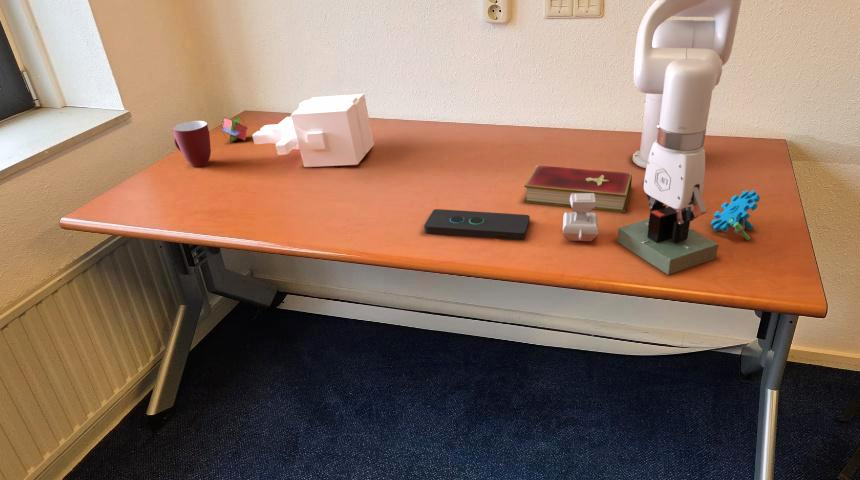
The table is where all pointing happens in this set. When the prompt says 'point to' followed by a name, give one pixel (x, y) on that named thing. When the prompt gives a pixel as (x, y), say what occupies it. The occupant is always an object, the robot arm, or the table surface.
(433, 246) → the table surface
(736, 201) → the blue splat shape
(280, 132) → the white voxel figure
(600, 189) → the hardcover book
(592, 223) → the white square urn
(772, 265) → the table surface
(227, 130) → the geometric puzzle
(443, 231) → the smart home device
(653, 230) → the black rectangular block
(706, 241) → the green base plate
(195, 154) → the mug
